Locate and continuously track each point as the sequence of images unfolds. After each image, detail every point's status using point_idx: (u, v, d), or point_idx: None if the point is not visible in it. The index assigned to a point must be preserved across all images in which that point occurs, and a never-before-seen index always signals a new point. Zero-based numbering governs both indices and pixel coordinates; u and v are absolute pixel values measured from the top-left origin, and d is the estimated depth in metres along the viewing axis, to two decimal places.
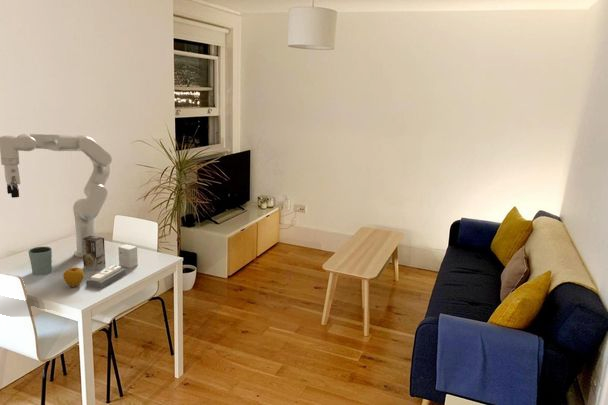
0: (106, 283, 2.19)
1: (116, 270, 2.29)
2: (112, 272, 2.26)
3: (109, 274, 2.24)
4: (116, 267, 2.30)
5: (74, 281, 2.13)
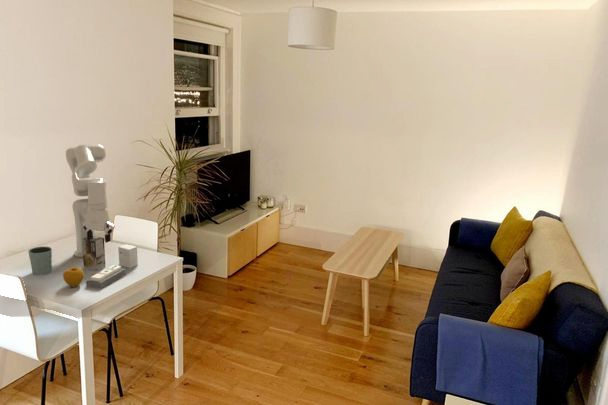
0: (106, 283, 2.19)
1: (116, 270, 2.29)
2: (112, 272, 2.26)
3: (109, 274, 2.24)
4: (116, 267, 2.30)
5: (74, 281, 2.13)
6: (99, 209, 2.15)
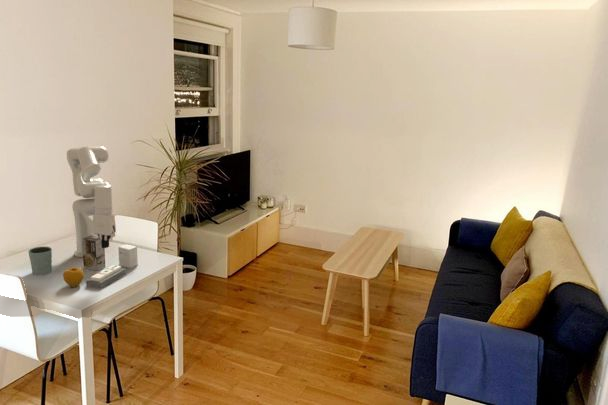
0: (106, 283, 2.19)
1: (116, 270, 2.29)
2: (112, 272, 2.26)
3: (109, 274, 2.24)
4: (116, 267, 2.30)
5: (74, 281, 2.13)
6: (106, 214, 2.15)
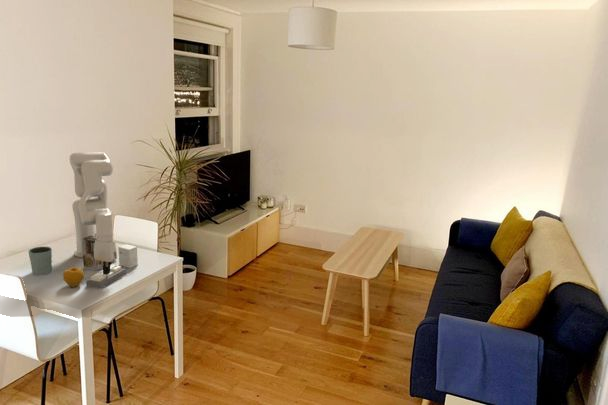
0: (106, 283, 2.19)
1: (116, 270, 2.29)
2: None
3: None
4: (116, 267, 2.30)
5: (74, 281, 2.13)
6: (107, 241, 2.18)
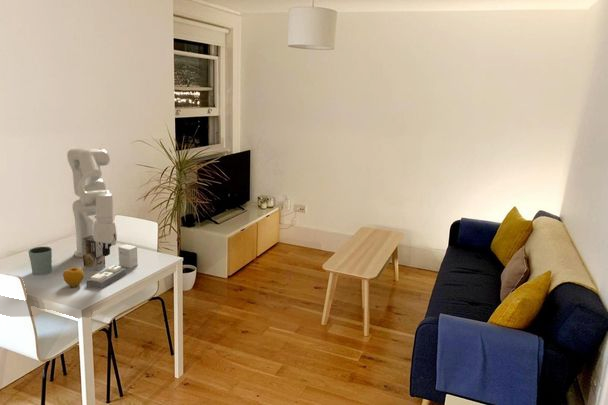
0: (106, 283, 2.19)
1: (116, 270, 2.29)
2: None
3: None
4: (116, 267, 2.30)
5: (74, 281, 2.13)
6: (106, 222, 2.16)
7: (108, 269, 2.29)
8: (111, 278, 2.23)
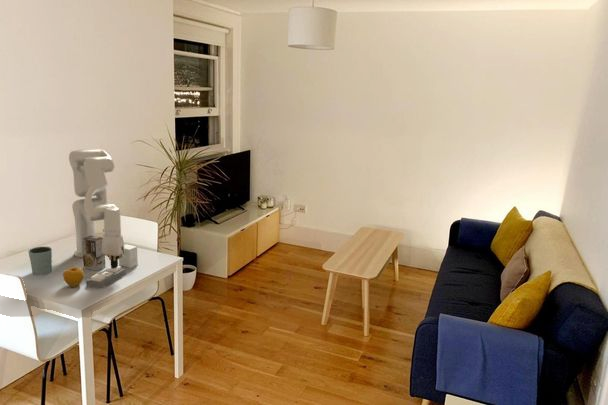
0: (106, 283, 2.19)
1: (116, 270, 2.29)
2: None
3: None
4: (116, 267, 2.30)
5: (74, 281, 2.13)
6: (115, 235, 2.23)
7: (108, 269, 2.29)
8: (111, 278, 2.23)
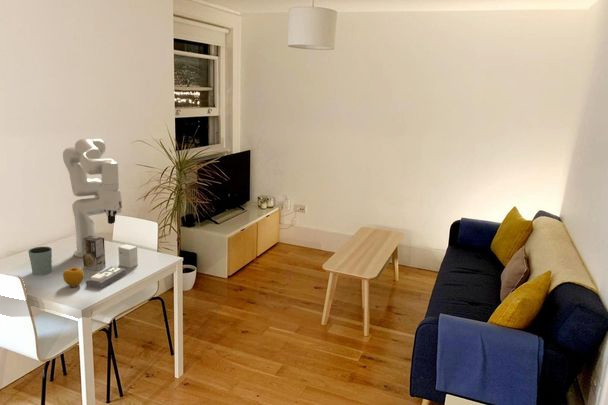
0: (106, 283, 2.19)
1: None
2: None
3: None
4: (116, 269, 2.30)
5: (74, 281, 2.13)
6: (112, 189, 2.19)
7: None
8: (111, 278, 2.23)
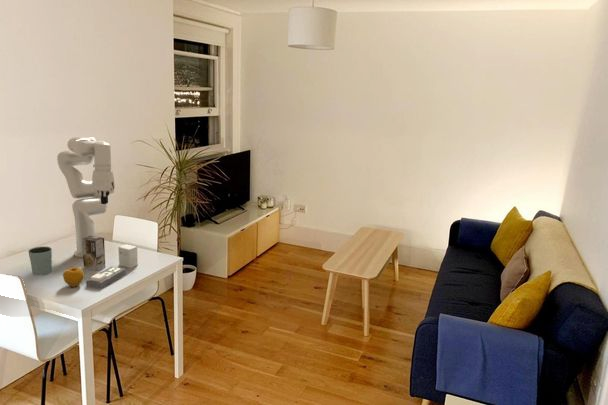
0: (106, 283, 2.19)
1: None
2: None
3: None
4: (116, 269, 2.30)
5: (74, 281, 2.13)
6: (105, 170, 2.24)
7: None
8: (111, 278, 2.23)
